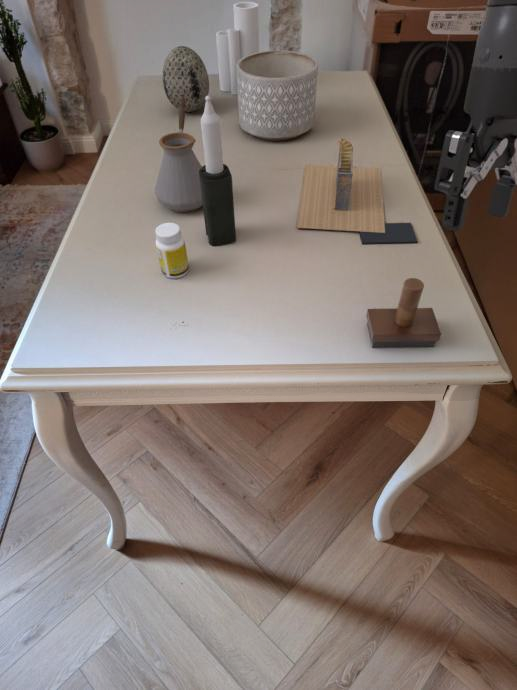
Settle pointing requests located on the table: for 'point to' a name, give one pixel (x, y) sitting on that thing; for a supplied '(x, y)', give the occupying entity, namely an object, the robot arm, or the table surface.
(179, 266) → the supplement bottle
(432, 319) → the brown block with cylinder
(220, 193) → the candle
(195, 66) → the decorative egg
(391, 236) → the mat
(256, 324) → the table surface
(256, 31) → the vase
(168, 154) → the grey ribbed jar
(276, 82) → the planter
